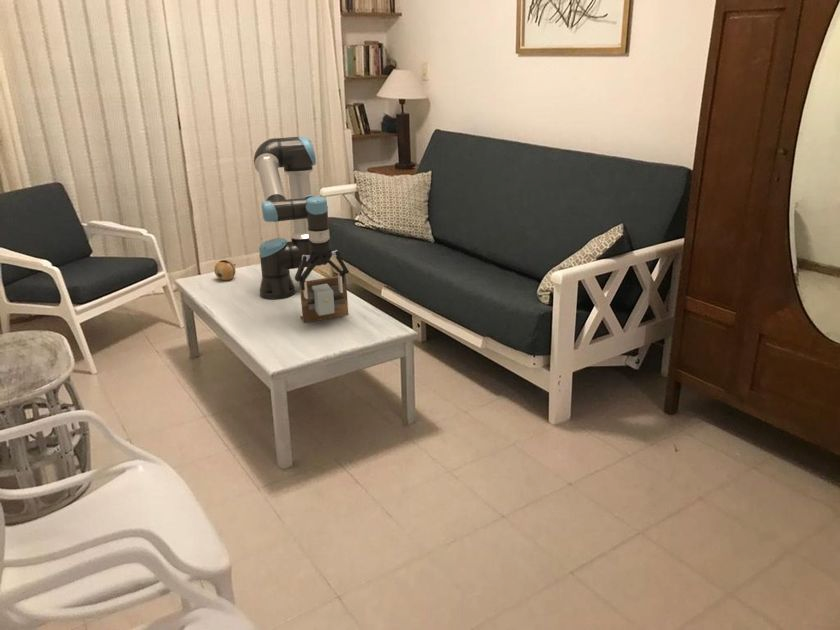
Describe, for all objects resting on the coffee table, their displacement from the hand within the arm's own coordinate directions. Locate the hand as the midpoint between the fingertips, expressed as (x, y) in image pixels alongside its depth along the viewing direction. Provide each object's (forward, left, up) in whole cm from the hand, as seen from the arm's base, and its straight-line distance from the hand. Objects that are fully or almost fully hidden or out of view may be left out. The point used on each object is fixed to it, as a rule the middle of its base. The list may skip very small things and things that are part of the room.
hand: (323, 294), depth 257 cm
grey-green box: (0, 0, -7) cm, 7 cm away
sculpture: (-74, -24, -12) cm, 79 cm away
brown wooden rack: (-6, +2, -12) cm, 14 cm away
